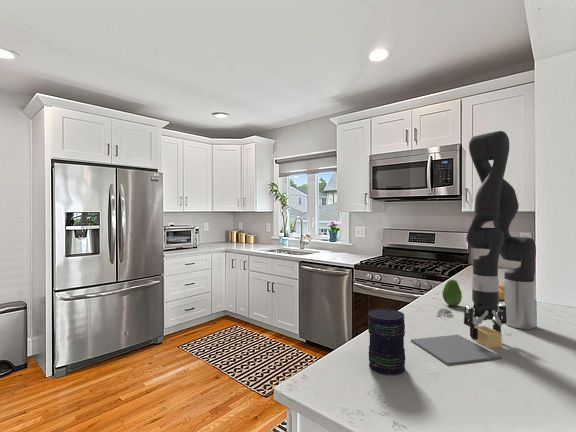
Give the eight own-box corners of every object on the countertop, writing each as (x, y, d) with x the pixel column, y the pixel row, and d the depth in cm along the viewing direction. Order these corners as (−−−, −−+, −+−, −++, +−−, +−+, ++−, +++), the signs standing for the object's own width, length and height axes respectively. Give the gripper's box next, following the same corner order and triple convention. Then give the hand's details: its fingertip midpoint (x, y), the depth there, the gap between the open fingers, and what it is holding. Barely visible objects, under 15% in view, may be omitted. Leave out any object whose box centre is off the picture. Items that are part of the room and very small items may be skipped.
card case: (484, 338, 112) (484, 325, 112) (501, 347, 105) (501, 333, 105) (471, 339, 112) (471, 326, 112) (488, 348, 104) (488, 334, 104)
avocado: (462, 304, 153) (462, 278, 153) (461, 309, 146) (460, 282, 146) (443, 302, 157) (443, 277, 157) (441, 306, 150) (441, 280, 150)
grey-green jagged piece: (440, 329, 126) (440, 326, 126) (421, 323, 131) (421, 321, 131) (459, 314, 140) (459, 311, 140) (440, 309, 145) (440, 307, 145)
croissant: (502, 309, 157) (512, 295, 154) (481, 296, 163) (490, 283, 160) (512, 299, 172) (520, 287, 169) (492, 288, 178) (500, 276, 175)
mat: (457, 336, 114) (457, 334, 114) (501, 358, 97) (501, 356, 97) (410, 341, 110) (410, 339, 110) (447, 365, 93) (447, 363, 93)
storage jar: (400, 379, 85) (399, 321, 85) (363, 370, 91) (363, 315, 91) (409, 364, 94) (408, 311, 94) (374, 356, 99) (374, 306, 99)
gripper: (494, 285, 113) (494, 332, 113) (458, 287, 110) (458, 335, 110) (513, 289, 106) (513, 340, 106) (475, 292, 103) (475, 344, 103)
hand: (485, 337), depth 108 cm, fingers open, 8 cm apart
